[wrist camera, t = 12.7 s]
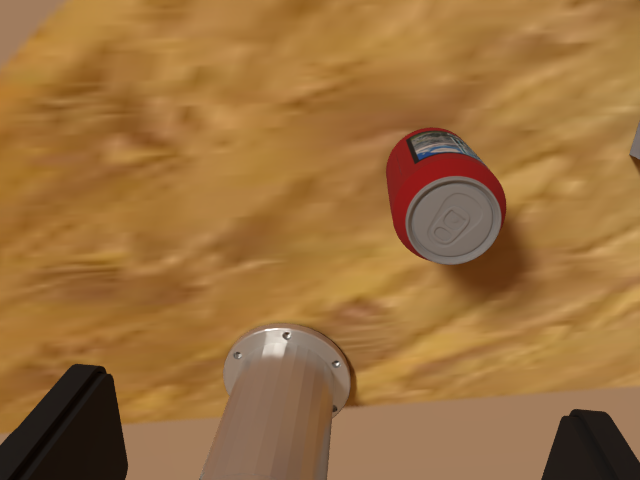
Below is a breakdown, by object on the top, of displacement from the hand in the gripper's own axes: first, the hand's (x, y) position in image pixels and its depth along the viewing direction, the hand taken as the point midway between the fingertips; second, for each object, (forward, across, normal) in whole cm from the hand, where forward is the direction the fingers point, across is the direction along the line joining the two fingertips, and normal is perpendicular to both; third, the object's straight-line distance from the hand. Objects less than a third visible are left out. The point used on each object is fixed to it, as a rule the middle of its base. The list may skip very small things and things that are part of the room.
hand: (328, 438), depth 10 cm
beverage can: (+31, -6, +2) cm, 31 cm away
